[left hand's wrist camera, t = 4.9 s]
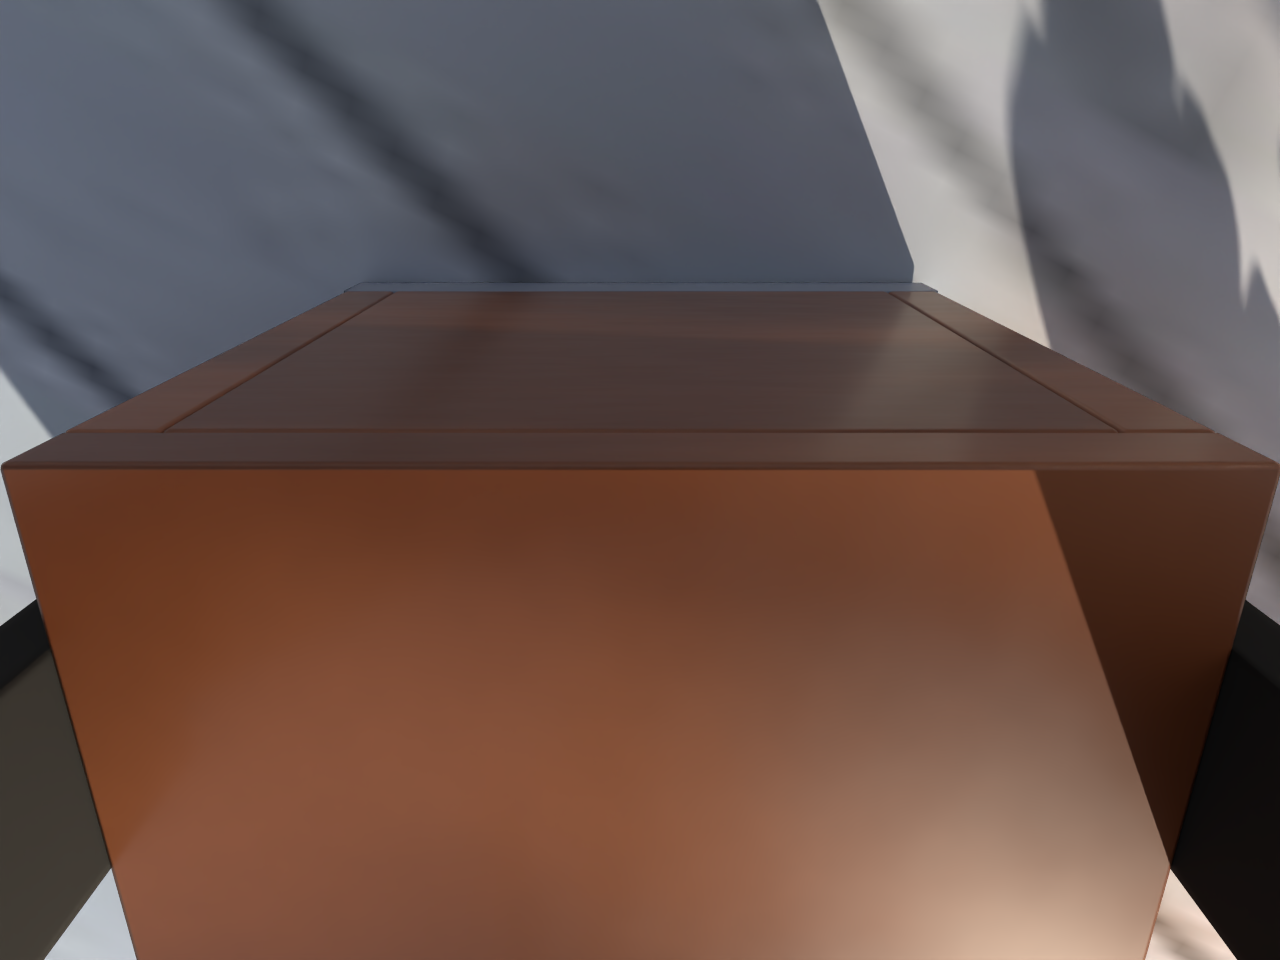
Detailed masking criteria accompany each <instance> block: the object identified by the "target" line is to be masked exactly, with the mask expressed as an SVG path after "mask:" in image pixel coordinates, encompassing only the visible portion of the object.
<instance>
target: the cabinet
mask: <svg viewBox="0 0 1280 960" xmlns="http://www.w3.org/2000/svg"><path fill="white" fill-rule="evenodd" d="M1 473H2V477H3V480H4V484H5V487H6V491H7V495H8V498H9V502H10V505H11V509H12V513H13V516H14V520H15V523H16V527H17V531H18V534H19V538H20V541H21V545H22V549H23V552H24V556H25V559H26V563H27V567H28V570H29V574H30V577H31V581H32V584H33V588H34V592H35V595H36V599H37V602H38V606H39V610H40V613H41V617H42V620H43V624H44V628H45V631H46V635H47V638H48V642H49V646H50V649H51V653H52V656H53V660H54V664H55V667H56V671H57V674H58V678H59V682H60V685H61V689H62V692H63V696H64V700H65V703H66V707H67V710H68V714H69V717H70V721H71V725H72V728H73V732H74V735H75V739H76V743H77V746H78V750H79V753H80V757H81V761H82V764H83V768H84V771H85V775H86V779H87V782H88V786H89V789H90V793H91V797H92V800H93V804H94V807H95V811H96V815H97V818H98V822H99V825H100V829H101V833H102V836H103V840H104V843H105V847H106V851H107V854H108V858H109V861H110V865H111V868H112V872H113V876H114V879H115V883H116V886H117V890H118V894H119V897H120V901H121V904H122V908H123V912H124V915H125V919H126V922H127V926H128V930H129V933H130V937H131V940H132V944H133V948H134V951H135V955H136V958H137V960H1145V958H1146V954H1147V951H1148V947H1149V943H1150V940H1151V936H1152V933H1153V929H1154V926H1155V922H1156V918H1157V915H1158V911H1159V908H1160V904H1161V900H1162V897H1163V893H1164V890H1165V886H1166V882H1167V879H1168V875H1169V872H1170V868H1171V865H1172V861H1173V857H1174V854H1175V850H1176V847H1177V843H1178V839H1179V836H1180V832H1181V829H1182V825H1183V821H1184V818H1185V814H1186V811H1187V807H1188V804H1189V800H1190V796H1191V793H1192V789H1193V786H1194V782H1195V778H1196V775H1197V771H1198V768H1199V764H1200V760H1201V757H1202V753H1203V750H1204V746H1205V743H1206V739H1207V735H1208V732H1209V728H1210V725H1211V721H1212V717H1213V714H1214V710H1215V707H1216V703H1217V699H1218V696H1219V692H1220V689H1221V685H1222V682H1223V678H1224V674H1225V671H1226V667H1227V664H1228V660H1229V656H1230V653H1231V649H1232V646H1233V642H1234V638H1235V635H1236V631H1237V628H1238V624H1239V621H1240V617H1241V613H1242V610H1243V606H1244V603H1245V599H1246V595H1247V592H1248V588H1249V585H1250V581H1251V577H1252V574H1253V570H1254V567H1255V563H1256V559H1257V556H1258V552H1259V549H1260V545H1261V542H1262V538H1263V534H1264V531H1265V527H1266V524H1267V520H1268V516H1269V513H1270V509H1271V506H1272V502H1273V498H1274V495H1275V491H1276V488H1277V484H1278V481H1279V477H1280V464H1279V463H1277V462H1275V461H1273V460H1271V459H1269V458H1267V457H1265V456H1263V455H1261V454H1259V453H1257V452H1255V451H1253V450H1251V449H1249V448H1247V447H1245V446H1243V445H1241V444H1239V443H1237V442H1235V441H1233V440H1231V439H1229V438H1227V437H1225V436H1223V435H1221V434H1219V433H1215V432H1214V431H1213V430H1211V429H1209V428H1207V427H1205V426H1203V425H1201V424H1199V423H1197V422H1195V421H1193V420H1191V419H1189V418H1187V417H1185V416H1183V415H1181V414H1179V413H1177V412H1175V411H1173V410H1171V409H1169V408H1167V407H1165V406H1163V405H1161V404H1159V403H1157V402H1155V401H1153V400H1151V399H1149V398H1147V397H1145V396H1143V395H1141V394H1139V393H1137V392H1135V391H1133V390H1131V389H1129V388H1127V387H1125V386H1123V385H1121V384H1119V383H1117V382H1115V381H1113V380H1111V379H1109V378H1107V377H1105V376H1103V375H1101V374H1099V373H1097V372H1095V371H1093V370H1091V369H1089V368H1087V367H1085V366H1083V365H1081V364H1079V363H1077V362H1075V361H1073V360H1071V359H1069V358H1067V357H1065V356H1063V355H1061V354H1059V353H1057V352H1055V351H1053V350H1051V349H1049V348H1047V347H1045V346H1043V345H1041V344H1039V343H1037V342H1035V341H1033V340H1031V339H1029V338H1027V337H1025V336H1023V335H1021V334H1019V333H1017V332H1015V331H1013V330H1011V329H1009V328H1007V327H1005V326H1003V325H1001V324H999V323H997V322H995V321H993V320H991V319H989V318H987V317H985V316H983V315H981V314H979V313H977V312H975V311H973V310H971V309H969V308H967V307H965V306H963V305H961V304H959V303H957V302H955V301H953V300H951V299H949V298H947V297H945V296H943V295H941V294H939V293H938V291H937V290H935V289H933V288H931V287H929V286H927V285H925V284H923V283H359V284H357V285H355V286H353V287H351V288H349V289H347V290H345V291H344V293H343V294H341V295H339V296H337V297H335V298H333V299H331V300H329V301H327V302H325V303H323V304H321V305H319V306H317V307H315V308H313V309H311V310H309V311H307V312H305V313H303V314H301V315H299V316H297V317H294V318H292V319H290V320H288V321H286V322H284V323H282V324H280V325H278V326H276V327H274V328H272V329H270V330H268V331H266V332H264V333H262V334H260V335H258V336H256V337H254V338H252V339H250V340H248V341H246V342H244V343H242V344H240V345H238V346H236V347H234V348H232V349H230V350H228V351H226V352H224V353H222V354H220V355H218V356H216V357H214V358H212V359H210V360H208V361H206V362H204V363H202V364H200V365H198V366H196V367H194V368H192V369H190V370H188V371H186V372H184V373H182V374H180V375H178V376H176V377H174V378H172V379H170V380H168V381H166V382H164V383H162V384H160V385H158V386H156V387H154V388H152V389H150V390H148V391H146V392H144V393H142V394H140V395H138V396H136V397H134V398H132V399H130V400H128V401H126V402H124V403H121V404H119V405H117V406H115V407H113V408H111V409H109V410H107V411H105V412H103V413H101V414H99V415H97V416H95V417H93V418H91V419H89V420H87V421H85V422H83V423H81V424H79V425H77V426H75V427H73V428H71V429H69V430H67V431H66V433H63V434H60V435H58V436H56V437H54V438H52V439H50V440H48V441H46V442H44V443H42V444H40V445H38V446H36V447H34V448H32V449H30V450H28V451H26V452H24V453H22V454H20V455H18V456H16V457H14V458H12V459H10V460H8V461H6V462H4V463H3V464H2V465H1Z"/></svg>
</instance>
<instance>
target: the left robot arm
mask: <svg viewBox="0 0 1280 960" xmlns="http://www.w3.org/2000/svg"><path fill="white" fill-rule="evenodd" d="M110 869H111V865H110V861H109V858H108V854H107V851H106V847H105V843H104V840H103V836H102V833H101V829H100V825H99V822H98V818H97V815H96V811H95V807H94V804H93V800H92V797H91V793H90V789H89V786H88V782H87V779H86V775H85V771H84V768H83V764H82V761H81V757H80V753H79V750H78V746H77V743H76V739H75V735H74V732H73V728H72V725H71V721H70V717H69V714H68V710H67V707H66V703H65V700H64V696H63V692H62V689H61V685H60V682H59V678H58V674H57V671H56V667H55V664H54V660H53V656H52V653H51V649H50V646H49V642H48V638H47V635H46V631H45V628H44V624H43V620H42V617H41V613H40V610H39V606H38V602H37V599H36V600H35V601H33V602H32V603H31V604H29V605H28V606H27V607H25V608H24V609H23V610H21V611H20V612H19V613H17V614H16V615H15V616H13V617H12V618H11V619H9V620H8V621H7V622H5V623H4V624H3V625H1V626H0V960H44V959H45V957H46V956H47V955H48V953H49V952H50V951H51V949H52V948H53V946H54V945H55V944H56V942H57V941H58V940H59V938H60V937H61V936H62V934H63V933H64V931H65V930H66V929H67V927H68V926H69V925H70V923H71V922H72V921H73V919H74V918H75V916H76V915H77V914H78V912H79V911H80V910H81V908H82V907H83V906H84V904H85V903H86V901H87V900H88V899H89V897H90V896H91V895H92V893H93V892H94V891H95V889H96V888H97V886H98V885H99V884H100V882H101V881H102V880H103V878H104V877H105V876H106V874H107V873H108V871H109V870H110ZM1170 869H1171V870H1172V871H1173V873H1174V874H1175V876H1176V877H1177V878H1178V880H1179V881H1180V882H1181V884H1182V885H1183V886H1184V888H1185V889H1186V891H1187V892H1188V893H1189V895H1190V896H1191V897H1192V899H1193V900H1194V901H1195V903H1196V904H1197V906H1198V907H1199V908H1200V910H1201V911H1202V912H1203V914H1204V915H1205V916H1206V918H1207V919H1208V921H1209V922H1210V923H1211V925H1212V926H1213V927H1214V929H1215V930H1216V931H1217V933H1218V934H1219V936H1220V937H1221V938H1222V940H1223V941H1224V942H1225V944H1226V945H1227V946H1228V948H1229V949H1230V951H1231V952H1232V953H1233V955H1234V956H1235V957H1236V959H1237V960H1280V625H1278V624H1277V623H1276V622H1274V621H1273V620H1272V619H1270V618H1269V617H1268V616H1266V615H1265V614H1264V613H1262V612H1261V611H1260V610H1258V609H1257V608H1256V607H1254V606H1253V605H1252V604H1250V603H1249V602H1248V601H1246V600H1245V603H1244V606H1243V610H1242V613H1241V617H1240V621H1239V624H1238V628H1237V631H1236V635H1235V638H1234V642H1233V646H1232V649H1231V653H1230V656H1229V660H1228V664H1227V667H1226V671H1225V674H1224V678H1223V682H1222V685H1221V689H1220V692H1219V696H1218V699H1217V703H1216V707H1215V710H1214V714H1213V717H1212V721H1211V725H1210V728H1209V732H1208V735H1207V739H1206V743H1205V746H1204V750H1203V753H1202V757H1201V760H1200V764H1199V768H1198V771H1197V775H1196V778H1195V782H1194V786H1193V789H1192V793H1191V796H1190V800H1189V804H1188V807H1187V811H1186V814H1185V818H1184V821H1183V825H1182V829H1181V832H1180V836H1179V839H1178V843H1177V847H1176V850H1175V854H1174V857H1173V861H1172V865H1171V868H1170Z"/></svg>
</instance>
